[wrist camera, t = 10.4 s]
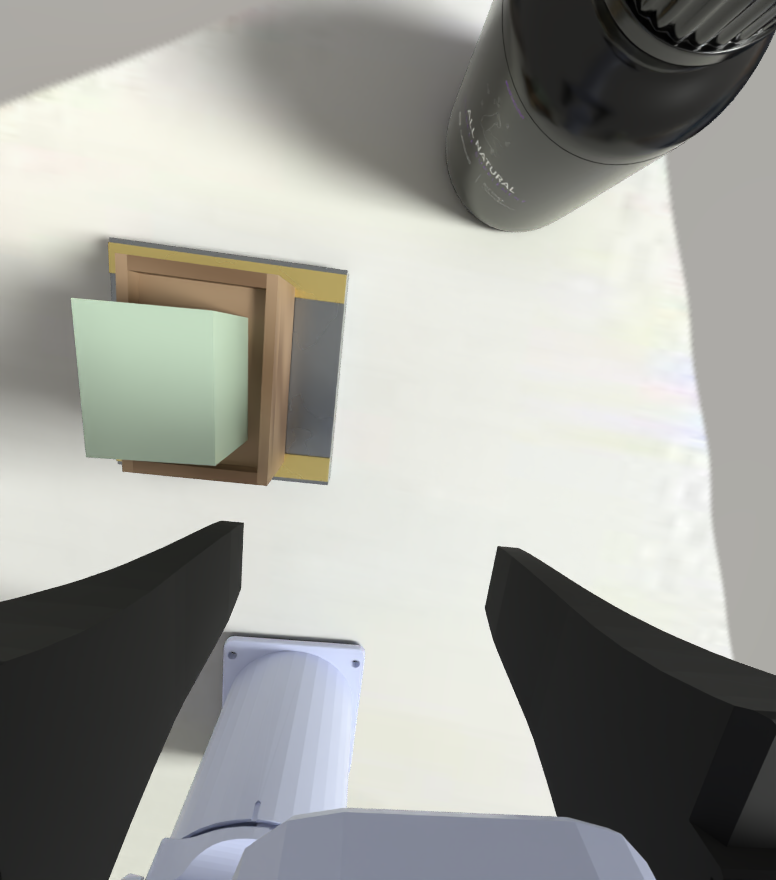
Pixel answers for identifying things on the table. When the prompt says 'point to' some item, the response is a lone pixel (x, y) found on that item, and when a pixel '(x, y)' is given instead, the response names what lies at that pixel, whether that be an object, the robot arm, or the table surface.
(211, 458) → the pale green block
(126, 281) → the open wooden box
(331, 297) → the dock
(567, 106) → the supplement bottle
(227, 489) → the table surface
